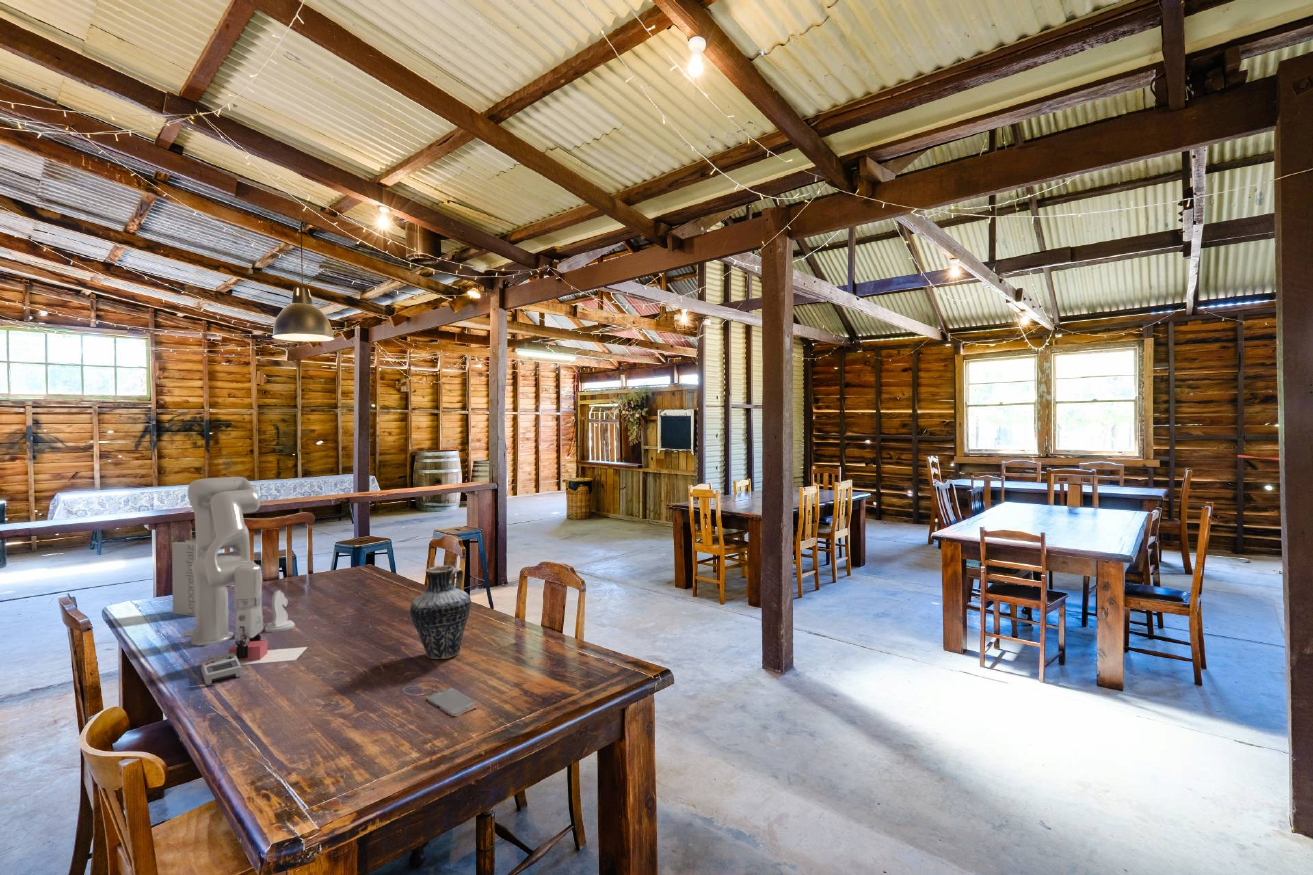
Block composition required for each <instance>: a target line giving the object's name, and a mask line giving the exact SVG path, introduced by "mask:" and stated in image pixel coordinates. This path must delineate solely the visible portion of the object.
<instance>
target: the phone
mask: <svg viewBox="0 0 1313 875" xmlns="http://www.w3.org/2000/svg"><path fill="white" fill-rule="evenodd" d="M427 699H428V700H429V701H431V702H433V703H434V704H436V705H437V706H439V707H440V708H442V709H443V710H446V711H447V712H450V713H451V714H453V715H456V714H459V713H461V712H463V711H466V710H468V708H473V707H472V706H475V705H474V704H476V703H473V702H469V701H475V700H474V699H472V697H469V696H467V695H465V694H464V693H462V692H460V691H458V690H457V689H455V688H452V687H451V688H448V689H444V690H441V691H439V692H436V693H433V694H431V695H428V696H426V700H427ZM470 699H471V700H470ZM429 701H428V702H429ZM431 702H430V703H431ZM434 704H433V705H434ZM472 704H473V705H472ZM437 706H436V707H437ZM440 708H439V709H440ZM464 708H465V709H464ZM443 710H442V711H443Z"/></svg>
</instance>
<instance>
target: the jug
mask: <svg viewBox="0 0 1313 875" xmlns="http://www.w3.org/2000/svg"><path fill="white" fill-rule="evenodd" d="M425 574H426V578H427V582H428V584H427V589H426V590H425V591H424V592H423V593H422V594H420V595H418V596H417V597H415V599H413V601H412V603H411V604H410V608H409V610H410V611H409V613H410V617H411V621H412V623H413V625H414V628H415V630H416V632H417V634H418V637H419V639H420V642H421V644H422V647H423V649H424V651H425V654H426V657H428V658H429V659H433V660H441V659H443V660H444V659H449V658H452V657H455V656H457V655H459V653H460V652H461V644H462V640H463V636H464V632H465V628H466V624H467V621H468V619H469V617H470V611H471V606H472V599H471V596H470V595H469V594H468V593H467V592H466V591H464V590H462V586H463V579H464V570H462V568H459V567H454V566H452V565H445V564H444V565H437V566H433V567H427V568H426V570H425ZM454 575H455V576H456V578H455V582H454V584H455V586H454V584H453V576H454Z"/></svg>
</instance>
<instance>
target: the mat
mask: <svg viewBox="0 0 1313 875" xmlns="http://www.w3.org/2000/svg"><path fill="white" fill-rule="evenodd" d="M307 648H308V646H305V647H291V648H278V649H267V654H266V655H265V656H264V657H263V658H262V659H260V660H252V661H240V662H239V663H240V665H241V666H242V665H253V664H255V665H256V664H265V663H276V662H287V661H296V660H297V659H298V658H299V657H301V655H302V654H303V653H304V652H305V650H307Z"/></svg>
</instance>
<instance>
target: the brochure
mask: <svg viewBox="0 0 1313 875" xmlns="http://www.w3.org/2000/svg"><path fill="white" fill-rule="evenodd" d="M206 553H207V551H202V550H200V549H199V548H198V547H197V543H196V540H185V542H171V556H172V558H171V559H172V560H171V561H172V563H171V564H172V568H171V569H172V570H171V571H172V614H176V615H183V616H184V615H185V616H193V617H196V593H195V582H194V577H193V572H192V564H193V562H194V561H195V560H196V559H197V558H199V557H201V556H205V555H206Z"/></svg>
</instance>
